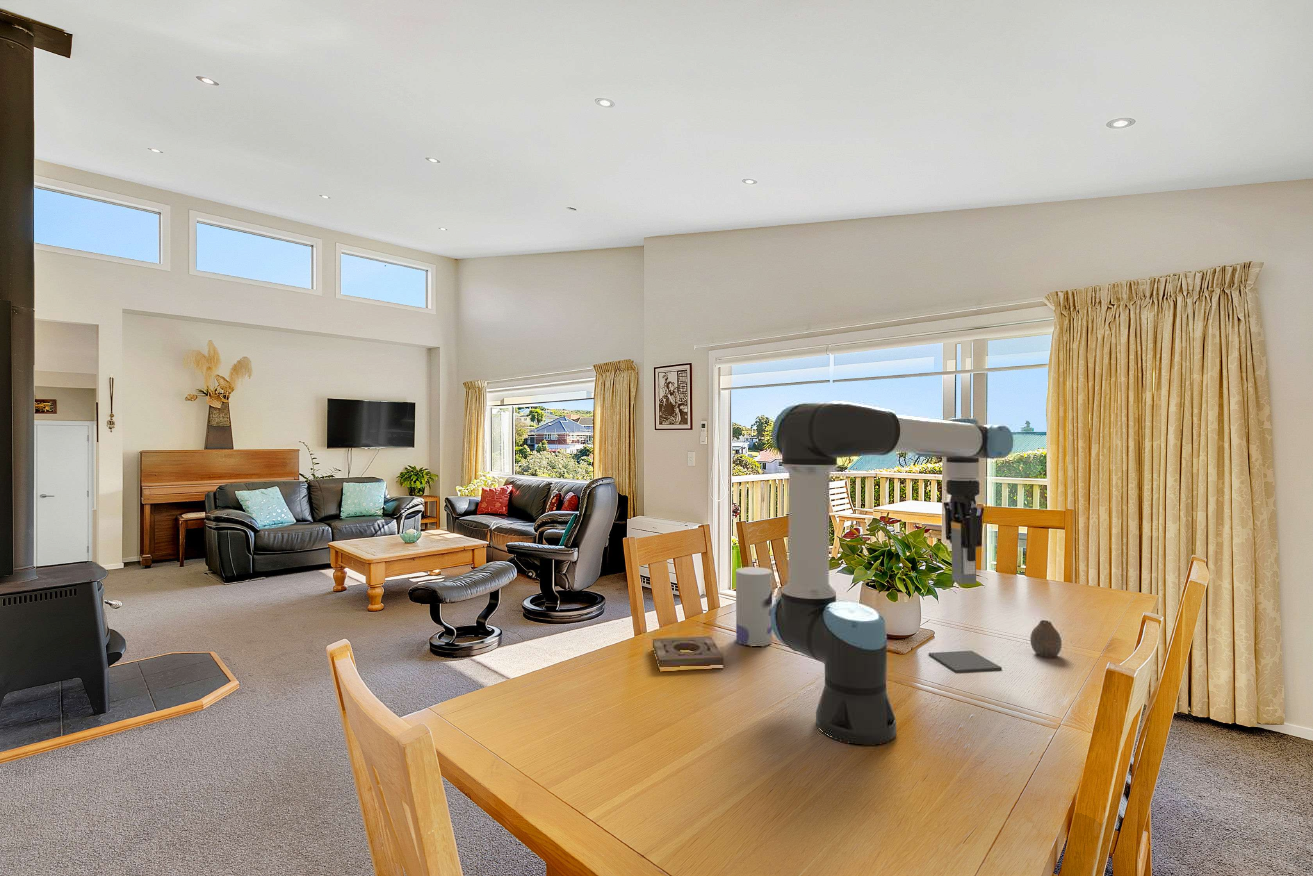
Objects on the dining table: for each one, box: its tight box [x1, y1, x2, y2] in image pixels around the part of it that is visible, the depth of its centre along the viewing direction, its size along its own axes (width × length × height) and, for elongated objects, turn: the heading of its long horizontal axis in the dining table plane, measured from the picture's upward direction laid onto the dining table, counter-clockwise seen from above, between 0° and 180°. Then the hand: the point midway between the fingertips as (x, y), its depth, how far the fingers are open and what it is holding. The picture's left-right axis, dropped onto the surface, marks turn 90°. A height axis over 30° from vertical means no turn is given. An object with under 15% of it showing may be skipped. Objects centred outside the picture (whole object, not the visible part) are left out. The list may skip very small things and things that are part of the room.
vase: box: [1030, 619, 1063, 659], centre depth 163 cm, size 7×7×9 cm
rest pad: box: [928, 650, 1003, 673], centre depth 158 cm, size 12×12×1 cm
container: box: [735, 566, 773, 647], centre depth 176 cm, size 10×10×20 cm
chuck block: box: [652, 635, 725, 667], centre depth 162 cm, size 16×16×3 cm
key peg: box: [951, 521, 977, 585], centre depth 158 cm, size 4×4×15 cm
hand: (963, 571), depth 158 cm, fingers closed on key peg, 4 cm apart
